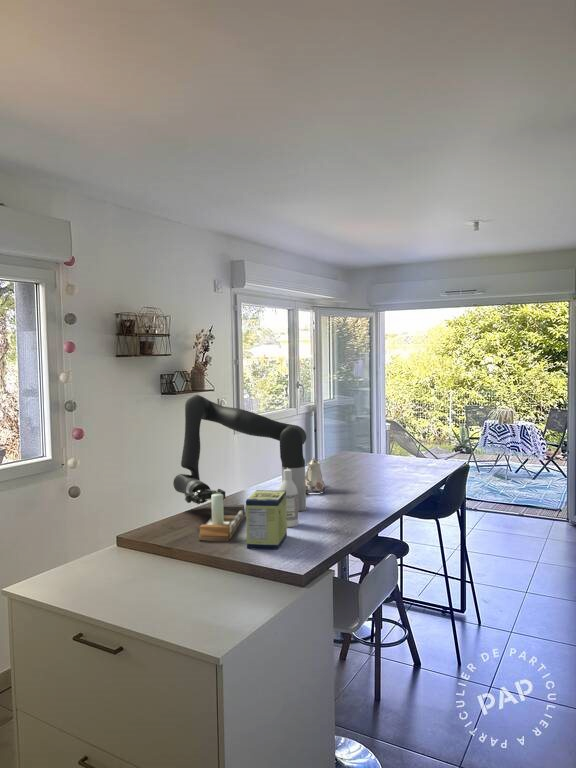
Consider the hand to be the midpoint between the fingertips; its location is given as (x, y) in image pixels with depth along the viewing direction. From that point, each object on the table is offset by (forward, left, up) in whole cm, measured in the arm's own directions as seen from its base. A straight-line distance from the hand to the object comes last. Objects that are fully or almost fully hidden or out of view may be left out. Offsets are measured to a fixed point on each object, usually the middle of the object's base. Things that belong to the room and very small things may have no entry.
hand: (210, 499), depth 208 cm
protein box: (-22, +14, -11) cm, 28 cm away
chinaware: (-31, -60, -11) cm, 68 cm away
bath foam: (-27, -6, -11) cm, 30 cm away
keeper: (-4, +7, -9) cm, 12 cm away
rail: (-4, -2, -10) cm, 11 cm away
